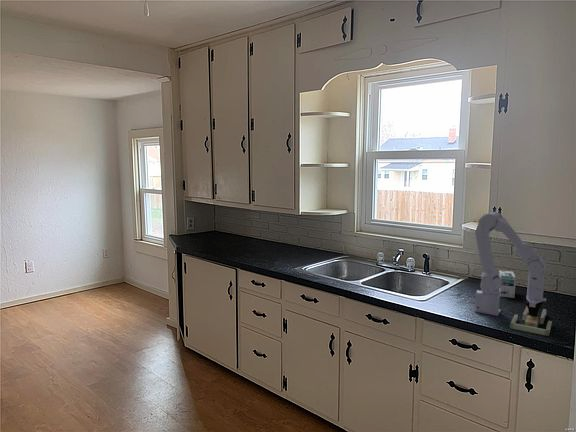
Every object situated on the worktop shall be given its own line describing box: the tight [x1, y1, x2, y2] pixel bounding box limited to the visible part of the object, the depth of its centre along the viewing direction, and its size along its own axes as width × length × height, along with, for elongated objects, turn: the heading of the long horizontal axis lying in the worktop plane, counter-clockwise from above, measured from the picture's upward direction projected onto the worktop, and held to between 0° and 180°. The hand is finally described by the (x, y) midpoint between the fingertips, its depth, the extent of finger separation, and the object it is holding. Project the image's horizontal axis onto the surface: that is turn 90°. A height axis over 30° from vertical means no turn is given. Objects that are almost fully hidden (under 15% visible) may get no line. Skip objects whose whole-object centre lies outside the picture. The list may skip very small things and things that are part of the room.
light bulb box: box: [498, 270, 517, 299], centre depth 212 cm, size 11×7×11 cm, turn 158°
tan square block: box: [526, 314, 540, 327], centre depth 175 cm, size 4×4×3 cm
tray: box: [509, 314, 553, 337], centre depth 173 cm, size 13×12×2 cm
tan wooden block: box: [524, 319, 539, 328], centre depth 172 cm, size 4×4×3 cm
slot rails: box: [521, 305, 547, 325], centre depth 183 cm, size 8×12×2 cm, turn 145°
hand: (532, 318), depth 178 cm, fingers closed
